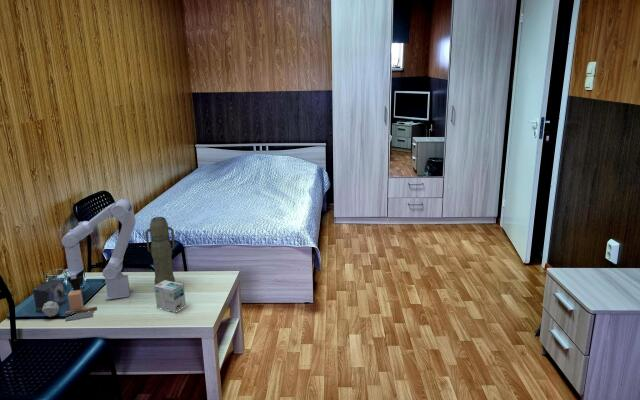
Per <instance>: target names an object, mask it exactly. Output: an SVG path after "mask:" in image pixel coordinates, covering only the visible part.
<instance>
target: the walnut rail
mask: <svg viewBox="0 0 640 400" xmlns="http://www.w3.org/2000/svg"><path fill="white" fill-rule="evenodd" d="M95 310H97V311H98V306H93V307H92V306H91V307H86V308H83V309H78V310H71V311H70V310H66V311H65V312H64V315H65V314H68V313H72V312H76V313H77V314H78V313H82V312H84V313H85V312H88V311H90V312H91V311H94V312H95Z"/></svg>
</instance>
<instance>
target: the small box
mask: <svg viewBox="0 0 640 400" xmlns="http://www.w3.org/2000/svg"><path fill="white" fill-rule="evenodd" d="M32 292H33V298H34V303H35V304H34V305H35V311H36V312H38V311H39V313H44V312H43V311H42V309H43V306H44V304H45V303H47V302H48V301H52V302H56V303H57V304H58V305H60V306H62V303H63V304H64V303H66V302H67V300H66V293H65V287H64V281H63V280H60V279H49V280H48V281H45V282H43V283H41V284H39V285H38V286H36V287H35V288H32Z"/></svg>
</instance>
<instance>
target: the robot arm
mask: <svg viewBox="0 0 640 400" xmlns="http://www.w3.org/2000/svg"><path fill="white" fill-rule="evenodd" d="M107 218H110V219H112V218H115V219H116V220H118V221H119V222H120V223H121V228H120V230H119V234H118V237H117V240H116V242H115V246H114V249H113V250H112V254H111V257H110V259H109V261H108V263H107V264H106V266H105V268H104V269H103V270H102V276H103V277H104V281H105V287H106V288H105V289H106V297H105V300H107V301H108V300H115V299H122V298H127V297H130V292H131V287H130V281H129V275H128V274H123V272H122V269H123V267H124V265H123V261H124V256H125V253H126V250H127V248H128V246H129V243H130V239H131V236H132V234H133V231H134V229H135V226H136V222H137V221H136V217H135V213H134V206H133V205H132V203H131V202H130V201H129V200H128V199H126V198H120V199H118V200H117V201H116V202H113V203H111V204H109V205H108V206H107V207H105V208H103V210H101V211H100V212H98V213H97V214H96V215H95V216H93V217H92V218H91V219H89V221H88V220H83V221H79V222H78V223H77V226H75V227H74V228H73V229H72V228H71V229H69V230H68V232H67V233H66V234H65V235H63V237H62V238H61V244H62V246H63V247H64V252H65V259H66V264H67V268H66V269H64V270H65V271H64V272H65V273H68V274H69V275H70V276H67V279H66V281H67V282H68V283H69V284H70V285H71V287H72V289H73V290H72V291H75V290H81V285H83V283H84V273H85V270H86V267H85V266H84V265H83V260H82V259H83V257H82V253H81V247H80V241H82V240H83V239H85V238H86V237H88V236H89V235H90V234H91V233H93V232H94V229H95V228H94V227H96V226H97V225H98V224H99V223H101V222H103V221H104V220H106V219H107Z"/></svg>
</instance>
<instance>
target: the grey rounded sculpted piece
mask: <svg viewBox="0 0 640 400" xmlns="http://www.w3.org/2000/svg"><path fill="white" fill-rule="evenodd" d="M59 310H60V306H59V305H58V304H57V303H56V302H52V301H48V302H47V303H45V304H44V306H43V309H42V311H43V312H42V313H43V315H45V316H47V317H49V318H52V316H53V317H55V316H57V314H59Z"/></svg>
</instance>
